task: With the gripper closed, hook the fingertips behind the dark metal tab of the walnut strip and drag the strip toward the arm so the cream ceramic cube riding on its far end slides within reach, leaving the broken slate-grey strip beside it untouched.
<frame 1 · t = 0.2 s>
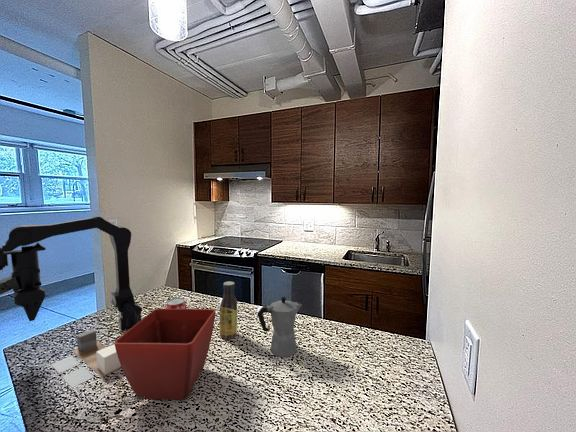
hand: (30, 315, 80), 14 cm above the countertop, fingers open, 9 cm apart
sauce bottle: (228, 336, 95), on the countertop
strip: (98, 350, 80), point 3 cm above the countertop, slide at 0.0 cm, touching cube
soda can: (177, 335, 95), on the countertop
plant pot: (173, 382, 71), on the countertop
broken strip: (71, 373, 75), on the countertop
cube: (110, 366, 76), point 1 cm above the countertop, touching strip
coffeepot: (280, 350, 86), on the countertop
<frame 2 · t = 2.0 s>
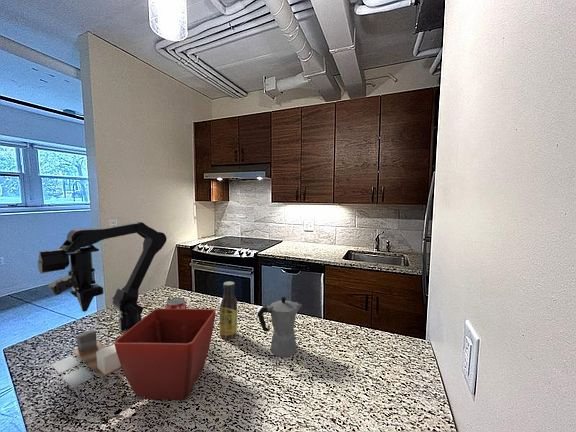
hand: (84, 311, 88), 12 cm above the countertop, fingers closed
nothing on the countertop moved.
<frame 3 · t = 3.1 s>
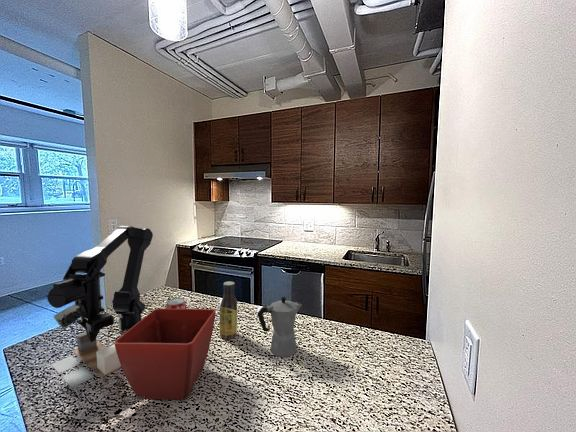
hand: (92, 341, 83), 5 cm above the countertop, fingers closed
nothing on the countertop moved.
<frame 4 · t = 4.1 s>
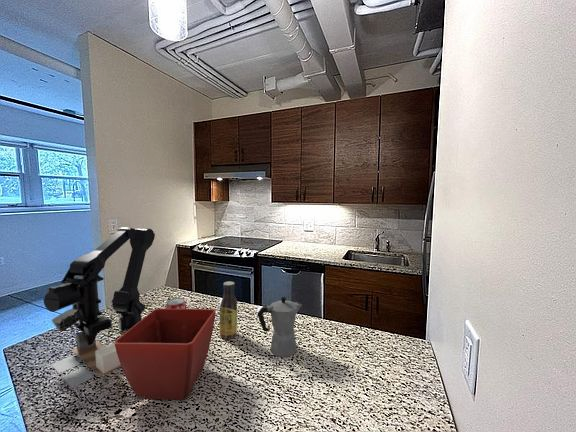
hand: (90, 344, 84), 3 cm above the countertop, fingers closed
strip: (97, 349, 81), point 3 cm above the countertop, slide at 0.8 cm, touching gripper
cube: (109, 365, 76), point 1 cm above the countertop
everything else where it was.
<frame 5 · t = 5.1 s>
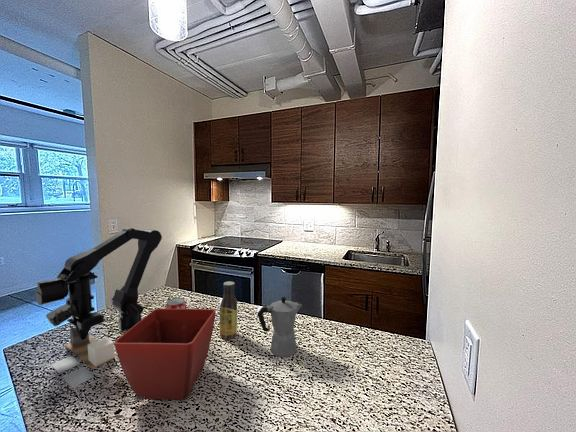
hand: (83, 339, 87), 3 cm above the countertop, fingers closed
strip: (90, 344, 84), point 3 cm above the countertop, slide at 6.4 cm, touching cube, gripper
cube: (101, 358, 80), point 1 cm above the countertop, touching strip
everything else where it was.
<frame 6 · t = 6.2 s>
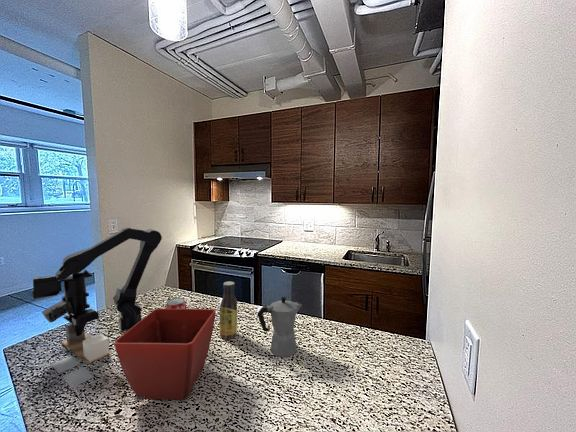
hand: (78, 335, 89), 3 cm above the countertop, fingers closed
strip: (85, 340, 86), point 3 cm above the countertop, slide at 10.1 cm, touching gripper
cube: (96, 354, 82), point 1 cm above the countertop
everything else where it was.
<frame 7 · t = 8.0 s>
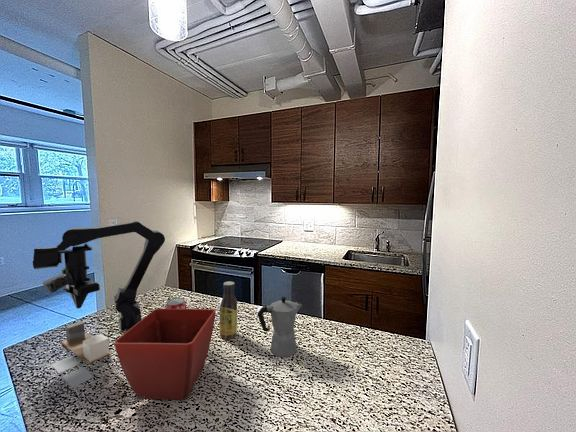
hand: (78, 308, 90), 12 cm above the countertop, fingers closed
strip: (85, 340, 86), point 3 cm above the countertop, slide at 10.0 cm, touching cube
cube: (96, 354, 82), point 1 cm above the countertop, touching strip
everything else where it was.
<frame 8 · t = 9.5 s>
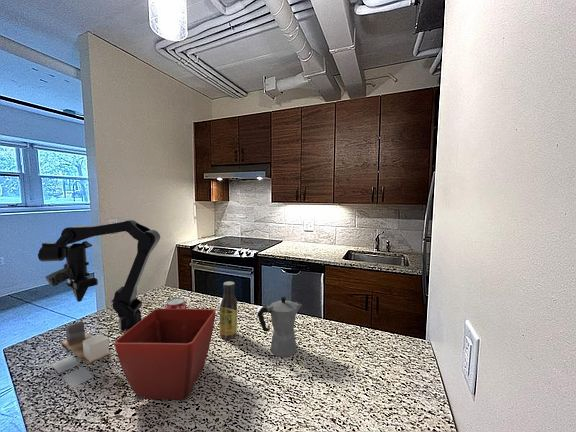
hand: (79, 301, 96), 12 cm above the countertop, fingers closed
nothing on the countertop moved.
at the end: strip slide at 10.0 cm; cube inside the target area (1.8 cm from its centre), point 1.1 cm above the countertop; cube tilted 0° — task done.
